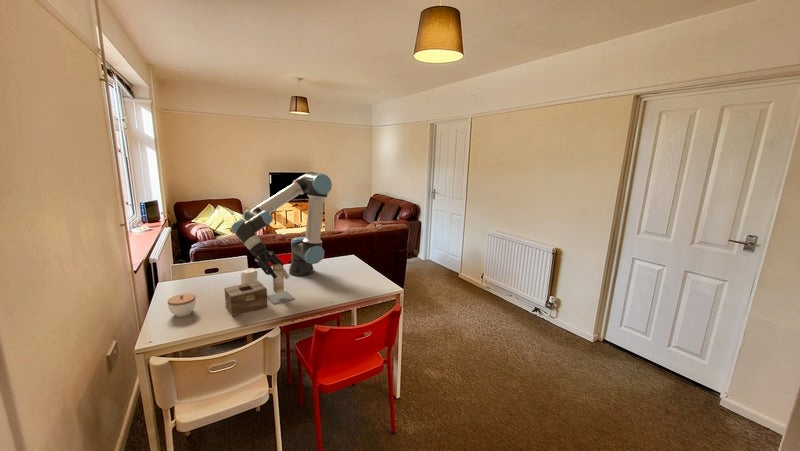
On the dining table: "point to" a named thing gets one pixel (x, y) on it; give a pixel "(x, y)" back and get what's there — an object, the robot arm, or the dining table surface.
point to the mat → (280, 297)
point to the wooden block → (276, 285)
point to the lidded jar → (182, 304)
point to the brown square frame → (245, 298)
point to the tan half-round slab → (248, 276)
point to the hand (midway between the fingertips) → (284, 279)
